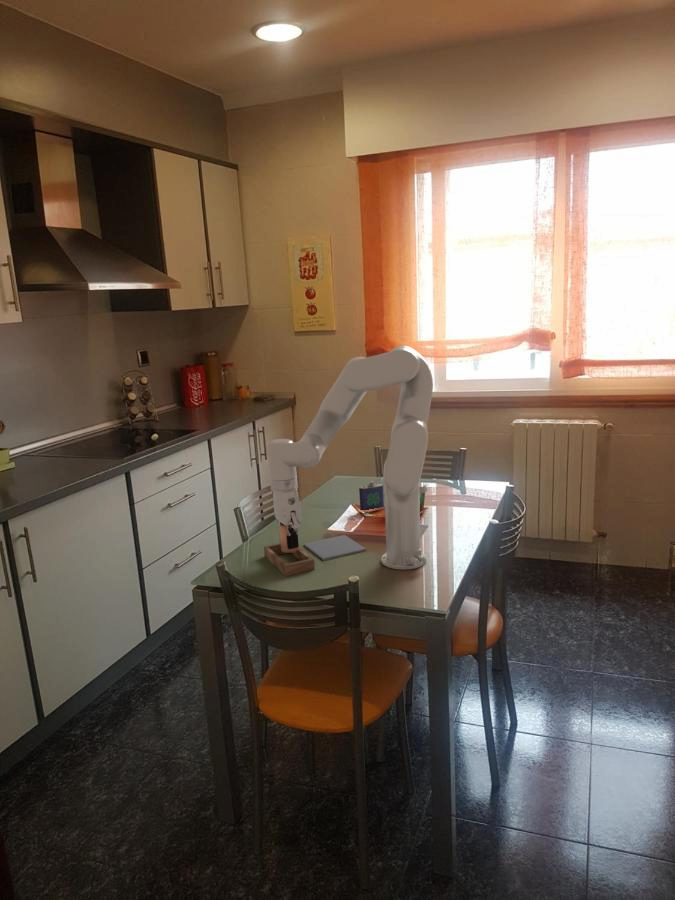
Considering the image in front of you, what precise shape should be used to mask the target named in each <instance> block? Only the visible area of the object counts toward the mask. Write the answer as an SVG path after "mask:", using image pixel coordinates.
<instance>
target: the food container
mask: <svg viewBox="0 0 675 900" xmlns="http://www.w3.org/2000/svg"><path fill="white" fill-rule="evenodd" d="M426 492H428V487H427V485H426V484H424V485H422V486H419V496H420V512H421V511H423V510H424V509H425V499H426ZM423 512H424V511H423Z"/></svg>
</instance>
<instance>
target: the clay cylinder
mask: <svg viewBox="0 0 675 900" xmlns="http://www.w3.org/2000/svg"><path fill="white" fill-rule="evenodd" d="M289 524H292V522H289ZM289 528H290V530H291V528H293V526H291V527H289ZM278 534H280V536H279V543H280V545H281V551H282V552H285V553H284V554H286V553H290V552H295V551H297V550H298V548H293V549H288V548H287V537H286V536H287V535H288V534H287V529H286V525H284V524H282V525H280V526H279V528H278ZM290 554H291V553H290Z"/></svg>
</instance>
